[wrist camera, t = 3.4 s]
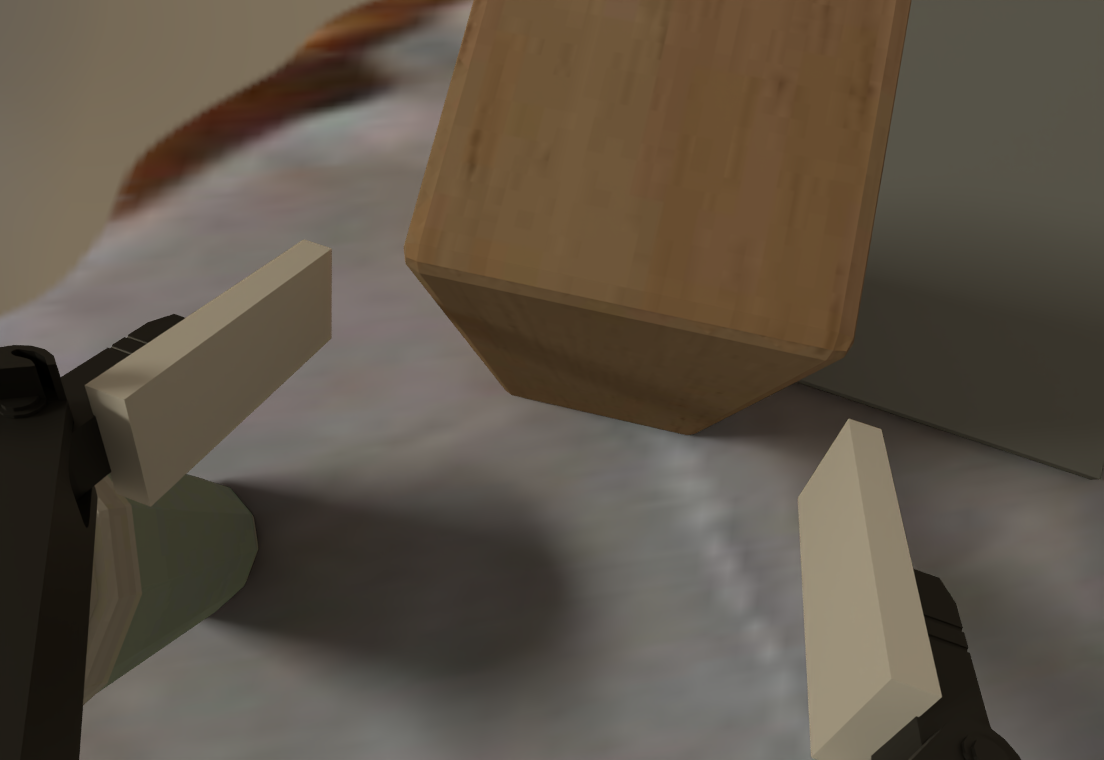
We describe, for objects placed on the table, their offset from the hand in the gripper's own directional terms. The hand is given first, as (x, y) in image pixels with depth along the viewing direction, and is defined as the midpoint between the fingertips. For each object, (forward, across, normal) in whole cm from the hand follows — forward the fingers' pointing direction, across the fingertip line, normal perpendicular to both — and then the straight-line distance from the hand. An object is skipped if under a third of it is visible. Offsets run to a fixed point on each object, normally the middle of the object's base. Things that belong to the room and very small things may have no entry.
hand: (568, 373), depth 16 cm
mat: (+26, -16, -2) cm, 31 cm away
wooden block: (+17, 0, +8) cm, 19 cm away
